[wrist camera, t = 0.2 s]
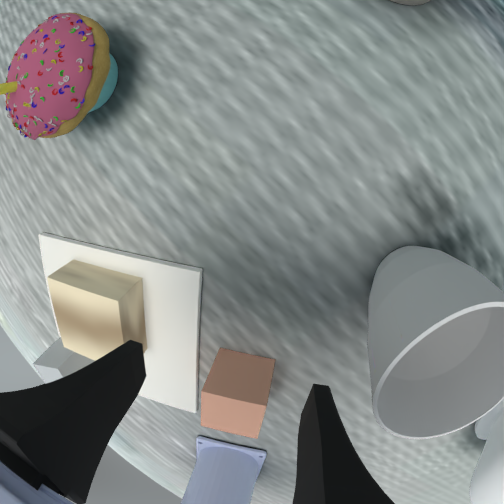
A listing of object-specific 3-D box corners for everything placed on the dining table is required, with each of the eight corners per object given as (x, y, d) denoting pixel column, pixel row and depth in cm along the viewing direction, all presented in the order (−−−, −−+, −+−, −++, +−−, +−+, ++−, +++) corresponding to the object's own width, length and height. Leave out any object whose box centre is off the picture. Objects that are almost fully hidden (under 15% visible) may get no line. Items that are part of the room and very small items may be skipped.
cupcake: (83, 157, 19) (-53, 195, 8) (43, 84, 18) (-76, 91, 7) (163, 77, 16) (14, 44, 5) (110, 7, 15) (-12, -35, 4)
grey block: (105, 373, 27) (81, 404, 23) (78, 369, 28) (55, 397, 24) (86, 338, 26) (57, 368, 21) (60, 336, 27) (32, 363, 22)
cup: (393, 346, 21) (420, 454, 12) (326, 279, 20) (333, 394, 10) (474, 279, 18) (543, 366, 8) (417, 196, 17) (505, 258, 7)
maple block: (147, 348, 24) (129, 374, 21) (84, 326, 25) (63, 346, 22) (142, 277, 21) (117, 300, 18) (73, 259, 22) (46, 277, 19)
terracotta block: (266, 394, 25) (257, 438, 20) (217, 383, 25) (200, 425, 21) (275, 358, 23) (266, 406, 18) (220, 347, 23) (201, 391, 19)
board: (197, 409, 27) (195, 413, 27) (71, 361, 29) (68, 364, 28) (202, 268, 21) (199, 272, 20) (42, 232, 23) (38, 234, 22)
